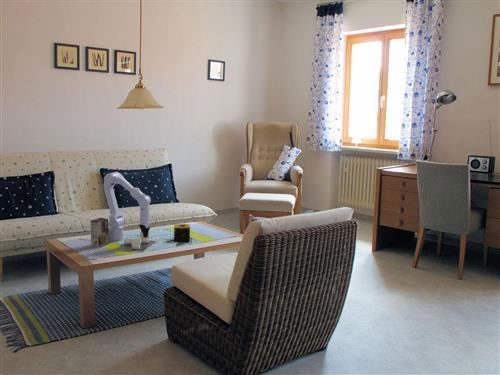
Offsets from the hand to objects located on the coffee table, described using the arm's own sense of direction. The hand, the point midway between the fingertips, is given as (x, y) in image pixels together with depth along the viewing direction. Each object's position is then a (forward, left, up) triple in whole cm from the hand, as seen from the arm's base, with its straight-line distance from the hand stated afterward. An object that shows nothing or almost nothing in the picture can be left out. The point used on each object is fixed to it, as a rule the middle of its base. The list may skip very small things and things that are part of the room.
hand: (144, 236), depth 315 cm
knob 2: (0, 0, -4) cm, 4 cm away
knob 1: (0, -14, -4) cm, 14 cm away
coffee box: (-26, -8, -6) cm, 28 cm away
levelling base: (-2, -7, -5) cm, 9 cm away
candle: (+19, +16, -6) cm, 25 cm away
